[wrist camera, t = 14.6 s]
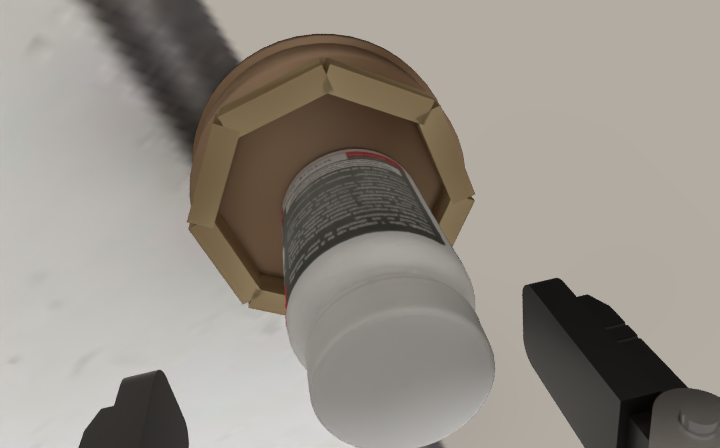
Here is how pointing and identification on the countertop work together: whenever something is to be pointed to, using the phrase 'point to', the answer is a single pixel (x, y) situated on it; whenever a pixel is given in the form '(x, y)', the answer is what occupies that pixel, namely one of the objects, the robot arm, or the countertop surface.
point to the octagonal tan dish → (310, 148)
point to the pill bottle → (379, 305)
